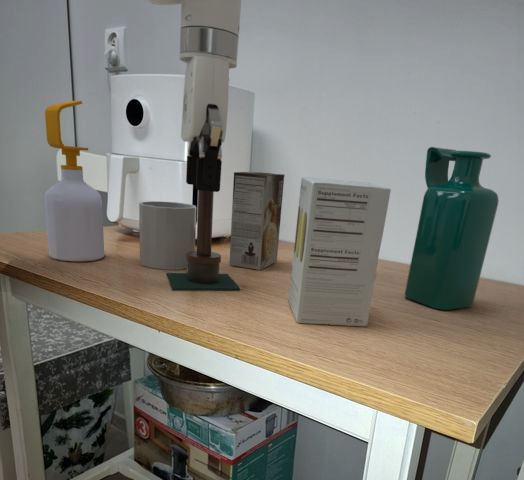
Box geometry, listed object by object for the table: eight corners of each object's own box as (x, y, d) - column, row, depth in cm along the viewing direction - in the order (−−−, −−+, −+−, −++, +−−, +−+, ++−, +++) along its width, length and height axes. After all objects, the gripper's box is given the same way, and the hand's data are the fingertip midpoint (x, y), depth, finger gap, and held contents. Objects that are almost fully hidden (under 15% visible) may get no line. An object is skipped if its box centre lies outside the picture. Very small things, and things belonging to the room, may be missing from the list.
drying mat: (172, 290, 70) (172, 287, 69) (166, 275, 78) (166, 272, 77) (240, 290, 72) (240, 288, 72) (227, 275, 80) (227, 273, 80)
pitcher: (478, 307, 74) (517, 152, 66) (442, 312, 70) (479, 148, 62) (427, 290, 82) (457, 150, 74) (392, 294, 78) (419, 145, 69)
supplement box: (286, 301, 69) (299, 176, 62) (350, 305, 70) (369, 181, 63) (296, 324, 60) (312, 180, 54) (368, 327, 61) (393, 186, 55)
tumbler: (141, 269, 80) (140, 206, 76) (138, 257, 88) (137, 200, 84) (198, 270, 83) (200, 209, 79) (190, 258, 91) (191, 203, 87)
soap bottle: (114, 259, 85) (109, 103, 76) (64, 264, 79) (52, 94, 70) (88, 250, 91) (80, 103, 81) (39, 254, 84) (25, 95, 75)
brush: (188, 284, 72) (190, 177, 66) (183, 275, 76) (185, 175, 71) (222, 284, 73) (228, 179, 68) (216, 276, 78) (220, 177, 72)
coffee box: (246, 257, 96) (252, 171, 90) (277, 262, 94) (285, 174, 88) (227, 265, 88) (233, 171, 82) (261, 270, 86) (268, 174, 80)
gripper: (172, 56, 70) (169, 180, 76) (189, 33, 55) (183, 191, 61) (223, 64, 72) (216, 185, 79) (253, 44, 57) (241, 196, 63)
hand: (201, 187), depth 70 cm, fingers open, 9 cm apart
